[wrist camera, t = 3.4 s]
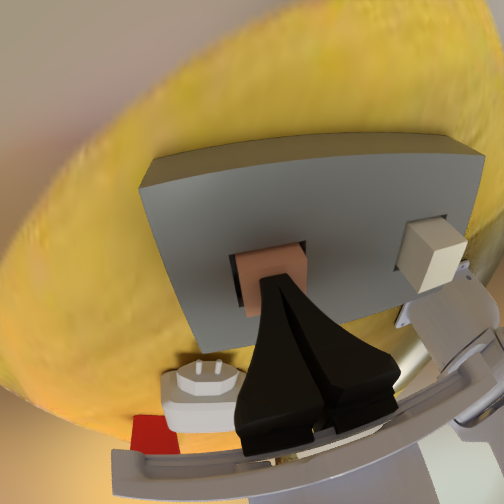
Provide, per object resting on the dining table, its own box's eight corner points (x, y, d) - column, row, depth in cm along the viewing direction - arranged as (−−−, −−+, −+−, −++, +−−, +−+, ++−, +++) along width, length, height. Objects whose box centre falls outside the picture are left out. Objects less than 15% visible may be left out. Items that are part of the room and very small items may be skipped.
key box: (446, 135, 15) (485, 155, 12) (418, 260, 22) (441, 289, 19) (153, 159, 13) (138, 189, 10) (199, 310, 21) (202, 353, 17)
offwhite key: (438, 214, 14) (468, 241, 12) (427, 253, 16) (451, 280, 14) (404, 220, 14) (434, 251, 12) (393, 262, 16) (417, 293, 14)
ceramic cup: (305, 448, 70) (312, 473, 62) (284, 456, 74) (290, 480, 66) (278, 450, 64) (285, 479, 56) (256, 458, 68) (262, 484, 60)
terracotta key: (289, 225, 15) (307, 259, 12) (290, 269, 17) (305, 305, 14) (231, 236, 15) (238, 273, 12) (238, 279, 16) (246, 317, 14)
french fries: (178, 416, 34) (185, 488, 25) (180, 423, 36) (187, 489, 27) (124, 413, 32) (124, 484, 23) (129, 420, 34) (131, 486, 25)
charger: (257, 336, 24) (235, 399, 33) (155, 336, 22) (167, 400, 31) (267, 381, 21) (241, 430, 29) (153, 383, 18) (168, 432, 27)
